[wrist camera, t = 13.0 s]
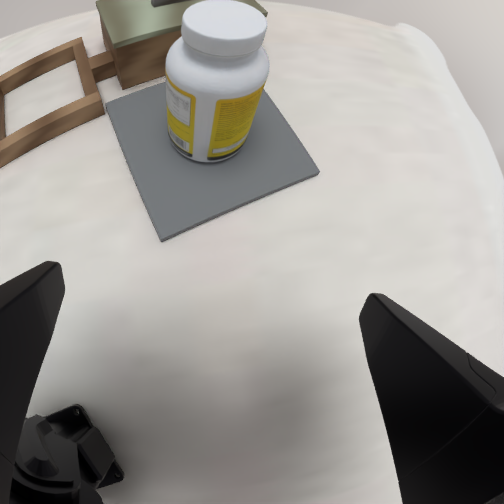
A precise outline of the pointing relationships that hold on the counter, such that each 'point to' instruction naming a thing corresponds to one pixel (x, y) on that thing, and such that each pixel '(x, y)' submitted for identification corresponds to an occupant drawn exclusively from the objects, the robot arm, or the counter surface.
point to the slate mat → (203, 163)
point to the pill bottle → (215, 78)
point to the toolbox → (100, 65)
